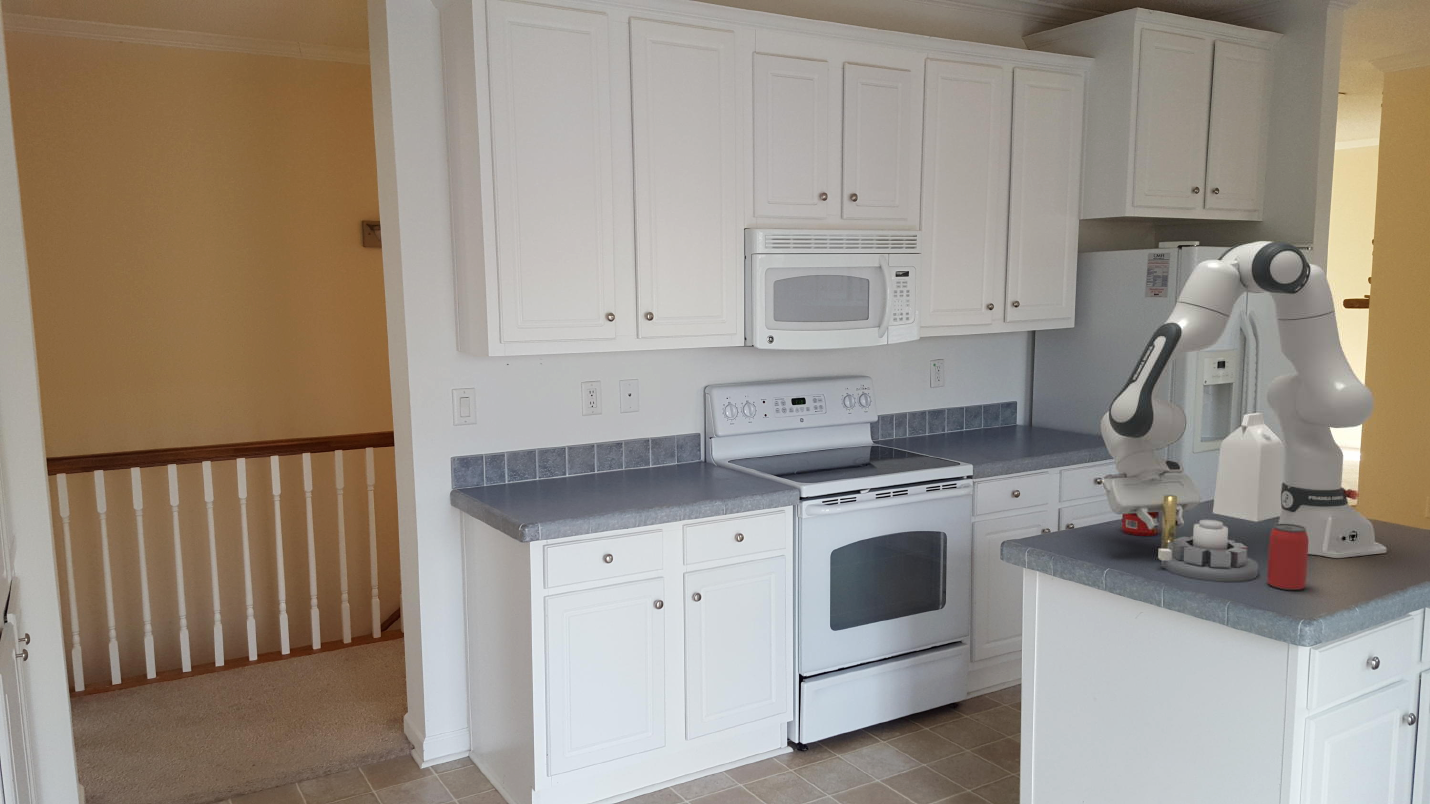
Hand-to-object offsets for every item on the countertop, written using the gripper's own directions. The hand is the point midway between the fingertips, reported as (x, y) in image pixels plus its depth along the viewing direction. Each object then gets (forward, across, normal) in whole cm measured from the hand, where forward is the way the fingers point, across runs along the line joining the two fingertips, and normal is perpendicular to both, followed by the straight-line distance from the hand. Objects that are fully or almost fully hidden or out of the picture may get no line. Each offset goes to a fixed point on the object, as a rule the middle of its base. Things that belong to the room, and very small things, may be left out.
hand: (1167, 526), depth 214 cm
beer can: (+20, +12, -10) cm, 25 cm away
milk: (-18, +48, +30) cm, 59 cm away
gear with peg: (+8, +4, 0) cm, 9 cm away
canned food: (-11, +10, +22) cm, 27 cm away
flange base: (+10, +5, 0) cm, 11 cm away
